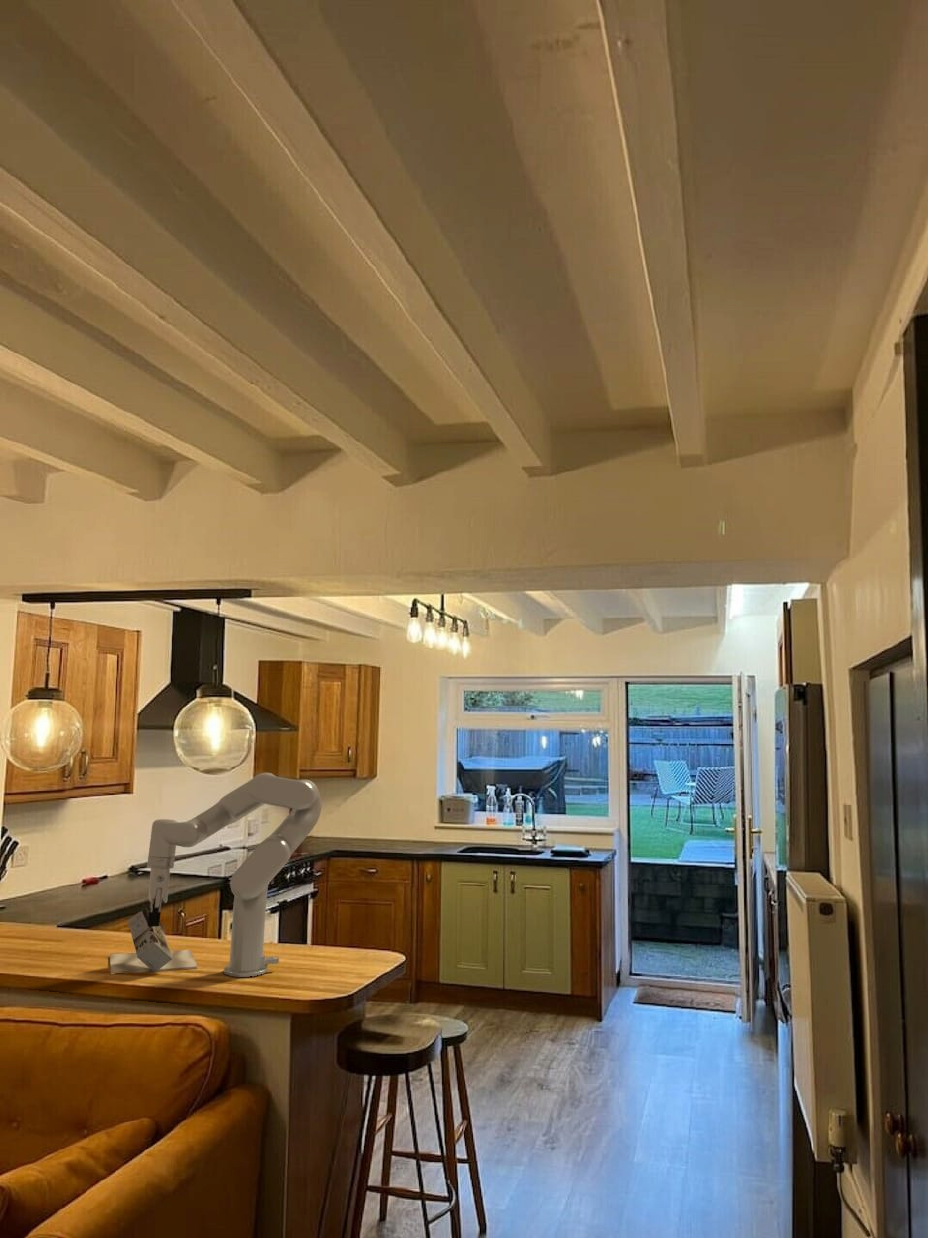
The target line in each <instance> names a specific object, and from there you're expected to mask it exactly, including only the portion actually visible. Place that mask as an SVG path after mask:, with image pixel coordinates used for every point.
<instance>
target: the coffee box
mask: <svg viewBox="0 0 928 1238" xmlns="http://www.w3.org/2000/svg"><path fill="white" fill-rule="evenodd" d="M149 911H150V909H148V908H147V907H145V908H143V909H142V910H140V911H139V912H137V913H136V914H134V916H131V918H129V919H128V920H127V922H128V925H129V930H130V934H131V938H132V941H133V946H134V949H135V953H136V954H137V958H139V959H140V960H141V961H142V962H143V963H144V964H145V965H147V966H148V967H149V968H150V969H151V970H152V971H153V973H156V972H158V971H157V970H159V969H160V968H161V967H163V966H164V965H165V964H167V963H168V962H169V961H171V960H172V956H171V952H170V951H171V950H170V946H169V943H168V939H167V936H166V933H165V931H164V928H163V927H164V926H163V924H162V921H160V923H159V926H157V927H149V926H148V925H147V924H148V915H149Z"/></svg>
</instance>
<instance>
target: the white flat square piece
mask: <svg viewBox="0 0 928 1238" xmlns="http://www.w3.org/2000/svg"><path fill="white" fill-rule="evenodd" d="M170 952H171V956H172V960H171V961H169V962H168V963H167V964H165V965H164V966H163V967H161V968H160V969H159V970H157V971H156V972H164V971H165V972H166V971H181V970H182V971H183V970H196V969H198V965H197V963H196V960H195V958H194V955H193V953H192V951H191V949H176V950H170ZM109 965H110V966H109V967H111V969H110V974H111V973H125V974H136V973H138V974H140V973H152V972H153V971H152V970H151V969H150V968H149V967H148V966H147V965H145V964H144V963H143V962H142V961H141V960H140V959H139V958H137V954H136V952H129V953H127V952H126V953H114V954H113V953H111V954H109ZM153 973H154V972H153Z"/></svg>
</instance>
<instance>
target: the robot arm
mask: <svg viewBox="0 0 928 1238" xmlns="http://www.w3.org/2000/svg"><path fill="white" fill-rule="evenodd" d="M265 804H266V805H270V806H276V807H281V808H286V809H292V810H291V811H290V813H289V814H288V815H287V816H286V817H285V818H284V820H283V821H282V822H281V823H280V825H279V826H278V827H277V828H276V829H275V830H274V831H273V832H272V833H271V834H270V835H269V836H267V837H266V838H265V839H264V840H262V842H260V843H259V845H258V846H257V847H255V848H254V850H253V851H252V852H251V854H250V855H248V857H247V858H246V859H245V860H244V861H243V863H241V865H240V866H239V867H238V868H237V869H236V870H235V871H234V873H233V874H232V875H231V879H230V881H229V882H230V885H229V886H230V889H231V893H232V894H233V895H234V896H233V897H234V898H233V907H232V908H233V909H232V920H231V921H232V922H231V933H230V934H231V936H230V950H229V951H230V952H229V953H230V954H229V964H228V965H226V966H225V967H224V968H223V974H225V975H226V976H229V977H234V978H251V977H250V976H252V977H257V975H258V976H262V975H264V974H265V973H267V972H268V968H269V967H268V966H269V965H279V963H280V958H279V957H278V956H277V957H274V956H265V954H264V947H265V944H264V943H265V926H266V914H267V913H266V912H267V910H266V909H267V897H268V888H269V884H270V883H271V881H272V880H273V879H274V878H275V877H276V876H277V875H278V874H279V873H280V871H281V870H282V869H283V867H285V866H286V864H288V861H289V860H290V858H291V856H292V855H293V853H294V852H295V851H296V850H297V849H298V847H299V846H300V845H301V844H302V843H303V842H304V841H305V839H306V838H307V837H308V836H309V835H310V833H311V832H312V830H313V829H314V828H315V827H316V825H317V823H318V821H319V819H320V816H321V812H322V797H321V794H320V791H319V789H318V786H317V785H316V784H315V783H314V782H313V781H311V780H309V779H294V778H293V779H291V778H287V777H282V776H281V777H280V776H277V775H274V774H273V773H271V772H261V773H259V774H257V775H255V776H254V777H253V778H252V779H250V780H248V781H246V782H245V783H244V784H243V783H242V785H241V786H238V787H237V788H235V789H234V790H232V791H230V792H229V793H227V794H225V795H224V796H222V797H221V798H220V799H219V801H217V802H216V803H215V804H214V805H213V806H211V807H209V808H208V809H206V810H204V811H203V812H201V813H200V814H198V815H197V816H195V817H193V818H192V819H188V820H187V821H183V822H182V821H181V822H179V821H177V820H174V819H166V818H163V819H161V818H159V819H156V820H154V821H153V822H152V825H151V831H150V841H149V848H148V855H147V865H146V867H147V868H150V872H149V873H150V874H149V881H148V882H149V883H148V901H149V902H150V904H149V905H150V906H149V915H148V924H147V925H148V926H149V927H157V926H159V923H160V922H161V910H162V909H161V908H162V902H163V903H164V904H166V903H168V897H169V887H170V878H171V877H170V873H171V872H170V870H171V869H174V866H175V865H174V864H175V859H176V858H175V857H176V849H177V847H180V848H181V847H182V848H193V847H195V846H196V845H198V844H199V843H200V844H201V843H202V842H203V841H205V840H207V839H208V838H209V837H211V836H212V835H215V834H216V833H217V832H219V831H221V830H222V829H224V828H226V827H227V826H229V825H232V824H234V823H237V822H238V821H240V820H241V819H243V818H244V817H246V816H248V815H249V814H251V813H252V812H254V811H256V810H258V809H259V808H261V807H262V806H264V805H265ZM261 974H262V975H261Z"/></svg>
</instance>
